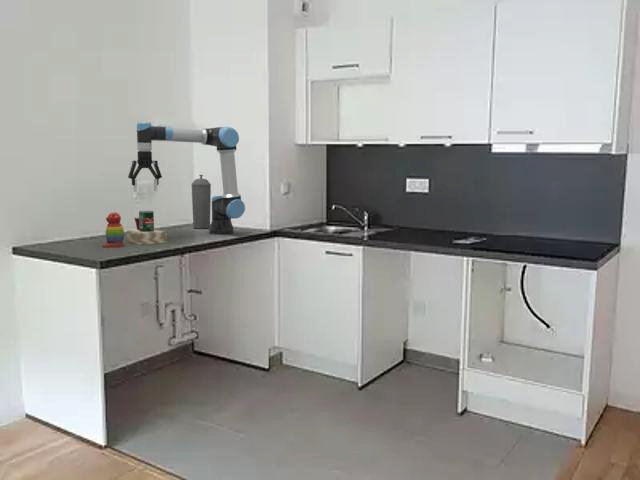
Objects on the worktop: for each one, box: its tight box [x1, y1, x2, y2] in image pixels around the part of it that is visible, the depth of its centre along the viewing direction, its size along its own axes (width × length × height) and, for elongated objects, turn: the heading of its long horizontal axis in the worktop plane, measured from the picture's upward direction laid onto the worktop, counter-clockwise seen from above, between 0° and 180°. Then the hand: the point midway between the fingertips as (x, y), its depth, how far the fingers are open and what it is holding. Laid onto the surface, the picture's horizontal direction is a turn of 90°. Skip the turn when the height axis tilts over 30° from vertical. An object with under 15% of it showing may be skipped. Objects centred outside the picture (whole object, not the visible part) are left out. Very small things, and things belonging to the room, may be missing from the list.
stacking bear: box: [102, 212, 125, 248], centre depth 326 cm, size 11×10×18 cm
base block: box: [126, 228, 168, 246], centre depth 343 cm, size 16×16×6 cm
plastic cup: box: [133, 216, 139, 230], centre depth 361 cm, size 11×11×12 cm
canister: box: [191, 174, 212, 230], centre depth 405 cm, size 13×13×35 cm
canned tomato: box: [138, 210, 155, 232], centre depth 342 cm, size 8×8×11 cm
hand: (145, 191), depth 339 cm, fingers open, 11 cm apart
